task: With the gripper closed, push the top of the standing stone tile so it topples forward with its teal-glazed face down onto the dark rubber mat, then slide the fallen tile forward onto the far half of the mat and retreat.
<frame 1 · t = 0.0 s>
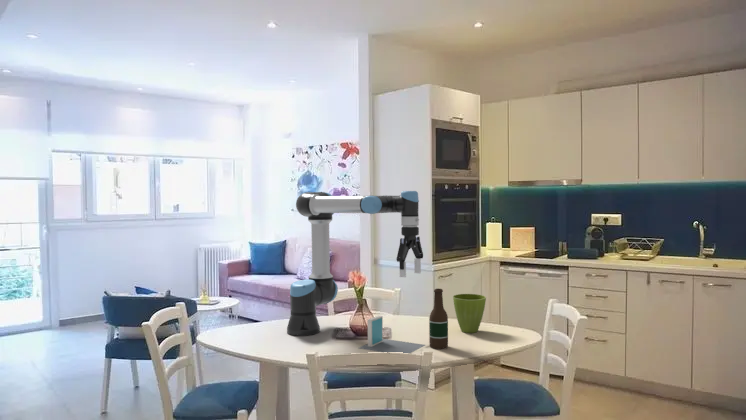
hand: (410, 275, 240), 28 cm above the table, fingers open, 13 cm apart
beer bottle: (438, 347, 228), on the table
mat: (391, 347, 227), on the table
tile: (375, 343, 231), point 1 cm above the table, touching mat
flower pot: (469, 331, 254), on the table
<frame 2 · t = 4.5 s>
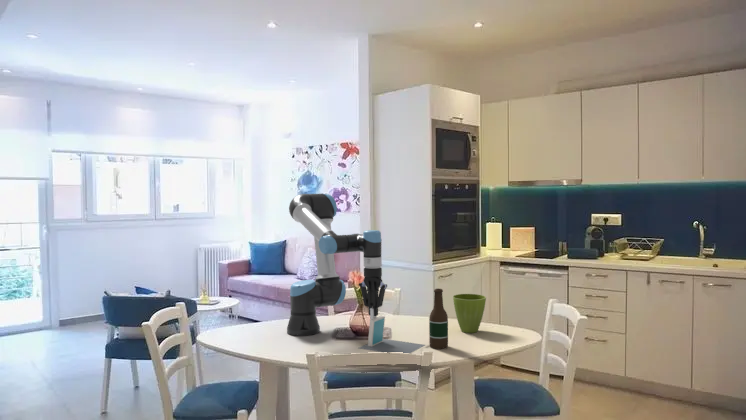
hand: (373, 323, 231), 9 cm above the table, fingers closed
tile: (375, 343, 231), point 1 cm above the table, tilted 6°, touching gripper, mat
everything else where it was.
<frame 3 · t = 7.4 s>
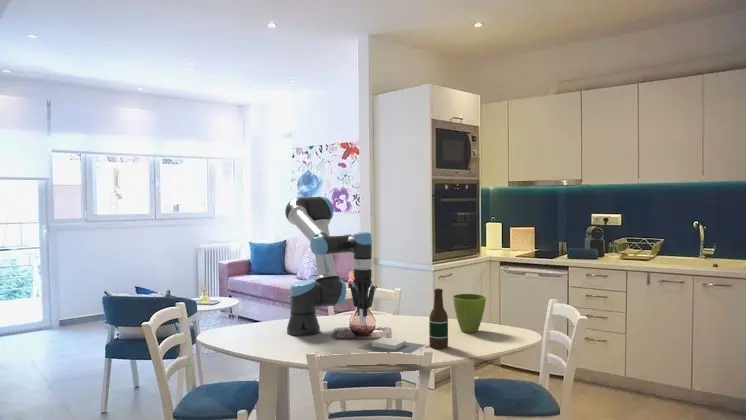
hand: (362, 323, 235), 8 cm above the table, fingers closed
tile: (377, 341, 231), point 2 cm above the table, tilted 90°, touching mat
everything else where it was.
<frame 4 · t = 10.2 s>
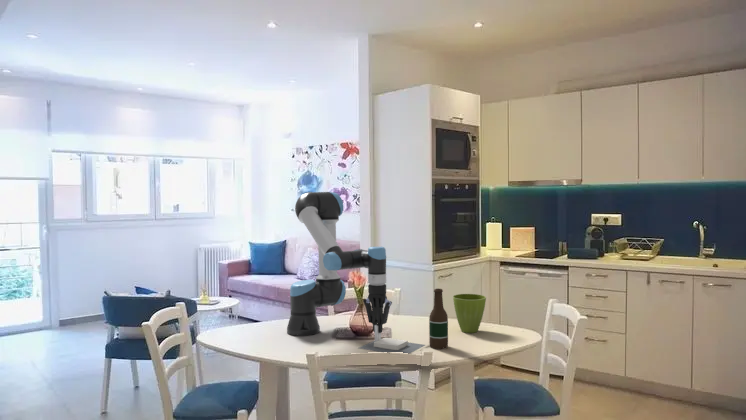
hand: (377, 340, 231), 2 cm above the table, fingers closed
tile: (379, 341, 230), point 2 cm above the table, tilted 90°, touching gripper, mat
everything else where it was.
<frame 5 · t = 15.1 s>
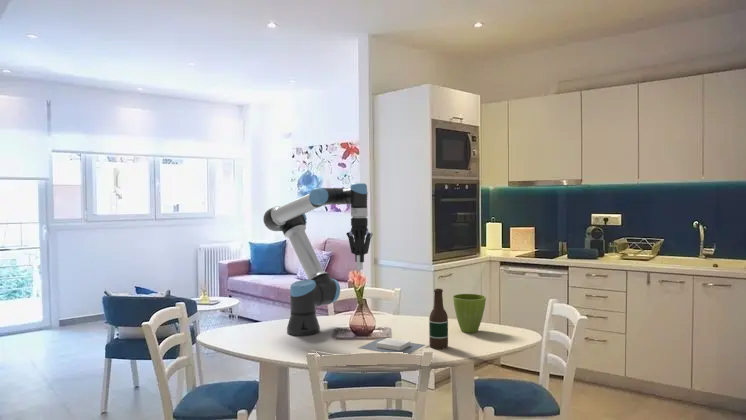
hand: (359, 269, 250), 29 cm above the table, fingers closed
tile: (381, 342, 230), point 2 cm above the table, tilted 90°, touching mat
everything else where it was.
at the end: tile tilted 90°; tile inside the target area (5.3 cm from its centre), point 1.6 cm above the table; the gripper is holding nothing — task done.
